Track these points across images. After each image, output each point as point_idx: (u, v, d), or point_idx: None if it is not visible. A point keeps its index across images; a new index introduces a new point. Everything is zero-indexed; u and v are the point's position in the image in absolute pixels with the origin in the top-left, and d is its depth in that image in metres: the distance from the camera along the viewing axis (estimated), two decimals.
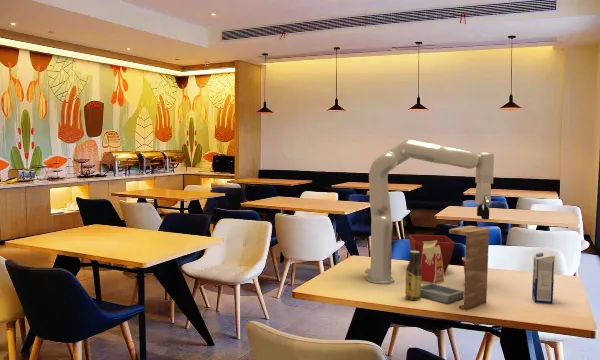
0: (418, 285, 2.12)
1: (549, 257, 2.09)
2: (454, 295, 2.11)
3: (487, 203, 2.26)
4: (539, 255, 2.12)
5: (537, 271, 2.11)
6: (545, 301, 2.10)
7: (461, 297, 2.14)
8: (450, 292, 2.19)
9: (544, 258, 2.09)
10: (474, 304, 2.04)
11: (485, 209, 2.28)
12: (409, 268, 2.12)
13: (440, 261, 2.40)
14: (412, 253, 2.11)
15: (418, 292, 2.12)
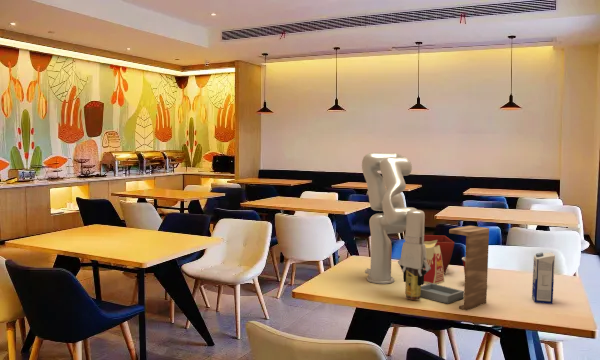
0: (418, 285, 2.12)
1: (549, 257, 2.09)
2: (454, 295, 2.11)
3: None
4: (539, 255, 2.12)
5: (537, 271, 2.11)
6: (545, 301, 2.10)
7: (461, 297, 2.14)
8: (450, 292, 2.19)
9: (544, 258, 2.09)
10: (474, 304, 2.04)
11: (423, 275, 2.10)
12: (409, 268, 2.12)
13: (440, 261, 2.40)
14: None
15: (418, 292, 2.12)
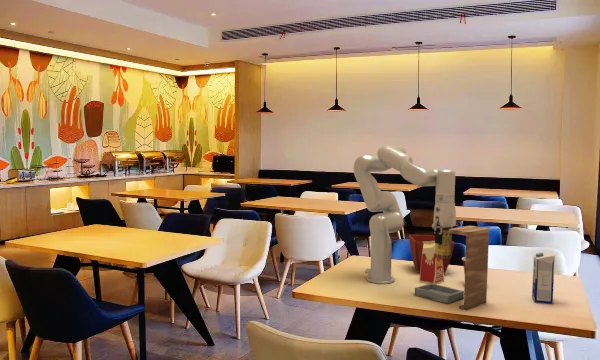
0: None
1: (549, 257, 2.09)
2: (454, 295, 2.11)
3: None
4: (539, 255, 2.12)
5: (537, 271, 2.11)
6: (545, 301, 2.10)
7: (461, 297, 2.14)
8: (450, 292, 2.19)
9: (544, 258, 2.09)
10: (474, 304, 2.04)
11: None
12: (449, 227, 2.12)
13: (440, 261, 2.40)
14: None
15: None
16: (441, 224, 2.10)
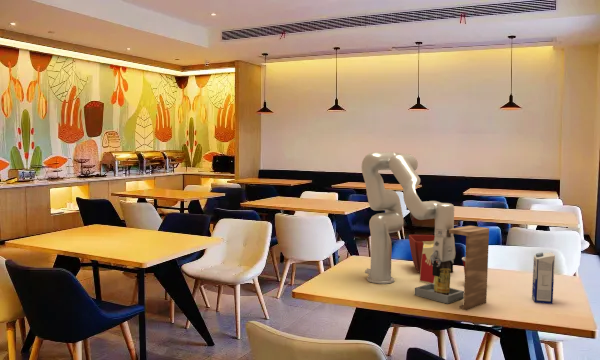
0: None
1: (549, 257, 2.09)
2: (454, 295, 2.11)
3: None
4: (539, 255, 2.12)
5: (537, 271, 2.11)
6: (545, 301, 2.10)
7: (461, 297, 2.14)
8: (450, 292, 2.19)
9: (544, 258, 2.09)
10: (474, 304, 2.04)
11: None
12: (448, 265, 2.14)
13: None
14: None
15: None
16: (440, 258, 2.10)
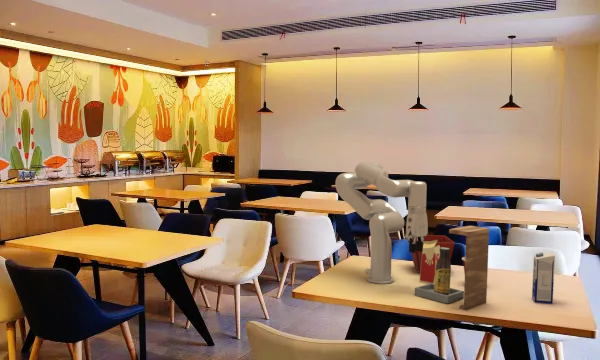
0: None
1: (549, 257, 2.09)
2: (454, 295, 2.11)
3: None
4: (539, 255, 2.12)
5: (537, 271, 2.11)
6: (545, 301, 2.10)
7: (461, 297, 2.14)
8: (450, 292, 2.19)
9: (544, 258, 2.09)
10: (474, 304, 2.04)
11: None
12: (448, 265, 2.14)
13: None
14: (449, 250, 2.14)
15: None
16: (413, 234, 2.20)
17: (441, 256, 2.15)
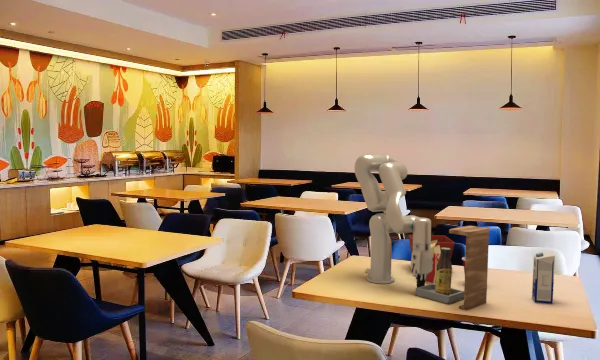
0: None
1: (549, 257, 2.09)
2: (455, 295, 2.10)
3: None
4: (539, 255, 2.12)
5: (537, 271, 2.11)
6: (545, 301, 2.10)
7: (462, 297, 2.14)
8: (451, 292, 2.19)
9: (544, 258, 2.09)
10: (474, 304, 2.04)
11: None
12: (449, 265, 2.13)
13: None
14: (450, 250, 2.14)
15: None
16: (418, 271, 2.19)
17: (442, 256, 2.14)
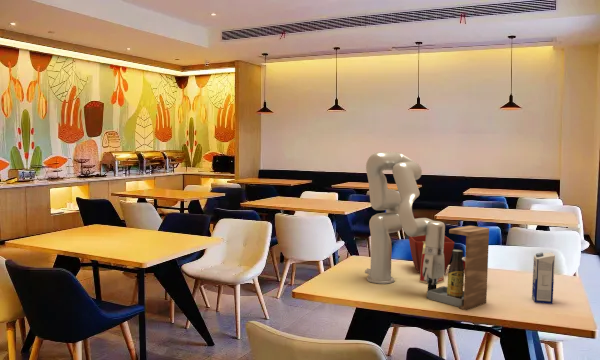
0: None
1: (549, 257, 2.09)
2: None
3: None
4: (539, 255, 2.12)
5: (537, 271, 2.11)
6: (545, 301, 2.10)
7: None
8: (463, 295, 2.15)
9: (544, 258, 2.09)
10: (474, 304, 2.04)
11: None
12: (461, 268, 2.09)
13: None
14: (462, 252, 2.10)
15: None
16: (430, 276, 2.15)
17: (454, 259, 2.10)
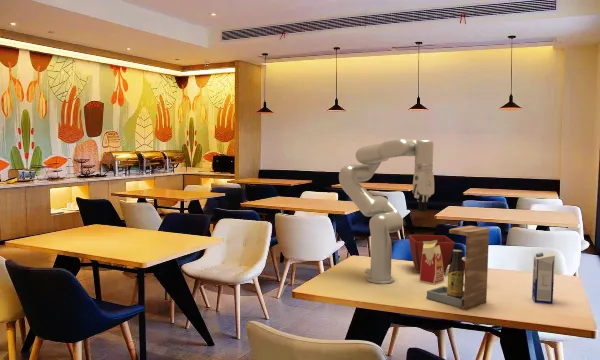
0: None
1: (549, 257, 2.09)
2: None
3: None
4: (539, 255, 2.12)
5: (537, 271, 2.11)
6: (545, 301, 2.10)
7: None
8: (463, 295, 2.15)
9: (544, 258, 2.09)
10: (474, 304, 2.04)
11: None
12: (461, 268, 2.09)
13: (440, 261, 2.40)
14: (462, 252, 2.10)
15: None
16: (420, 191, 2.19)
17: (454, 259, 2.10)
